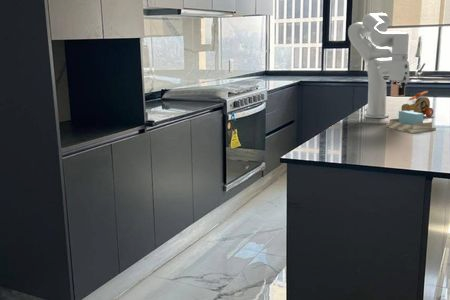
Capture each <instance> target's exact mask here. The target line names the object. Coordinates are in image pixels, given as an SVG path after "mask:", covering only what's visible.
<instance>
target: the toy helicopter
mask: <svg viewBox="0 0 450 300" xmlns="http://www.w3.org/2000/svg"><path fill="white" fill-rule="evenodd" d="M428 93H429V91H428V90H424V91H421V92H418V93H416V94H415V95H414V96H412V97H409V98H408V101H414V100H415V99H416V101H415V102H414V103H411V104H409V103H403V104H402V105H401V110H400V111H411V112H412V111H413V112H417V113H422V114H423V116H426V117H429V118H430V117H432V116H433V115H434V109H433V107H430V106H431V103H430V102H431V101H430V99H429V98H428V97H427V96H423V95H425V94H428Z"/></svg>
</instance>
